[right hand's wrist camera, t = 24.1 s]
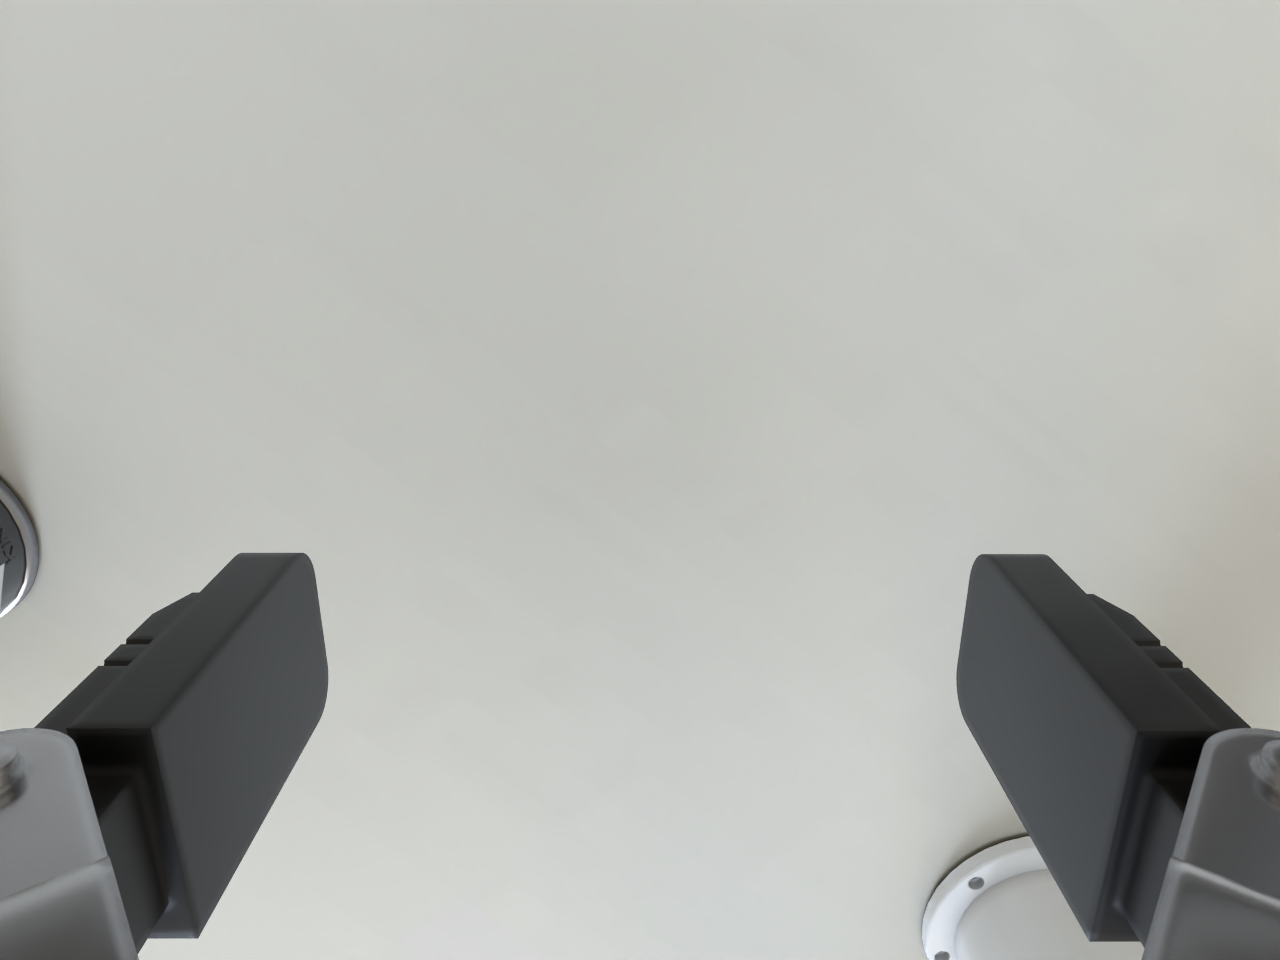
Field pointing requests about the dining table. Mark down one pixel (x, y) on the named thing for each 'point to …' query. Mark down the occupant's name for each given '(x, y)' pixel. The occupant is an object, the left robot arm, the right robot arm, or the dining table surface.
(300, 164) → the dining table surface
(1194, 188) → the dining table surface
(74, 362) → the dining table surface
